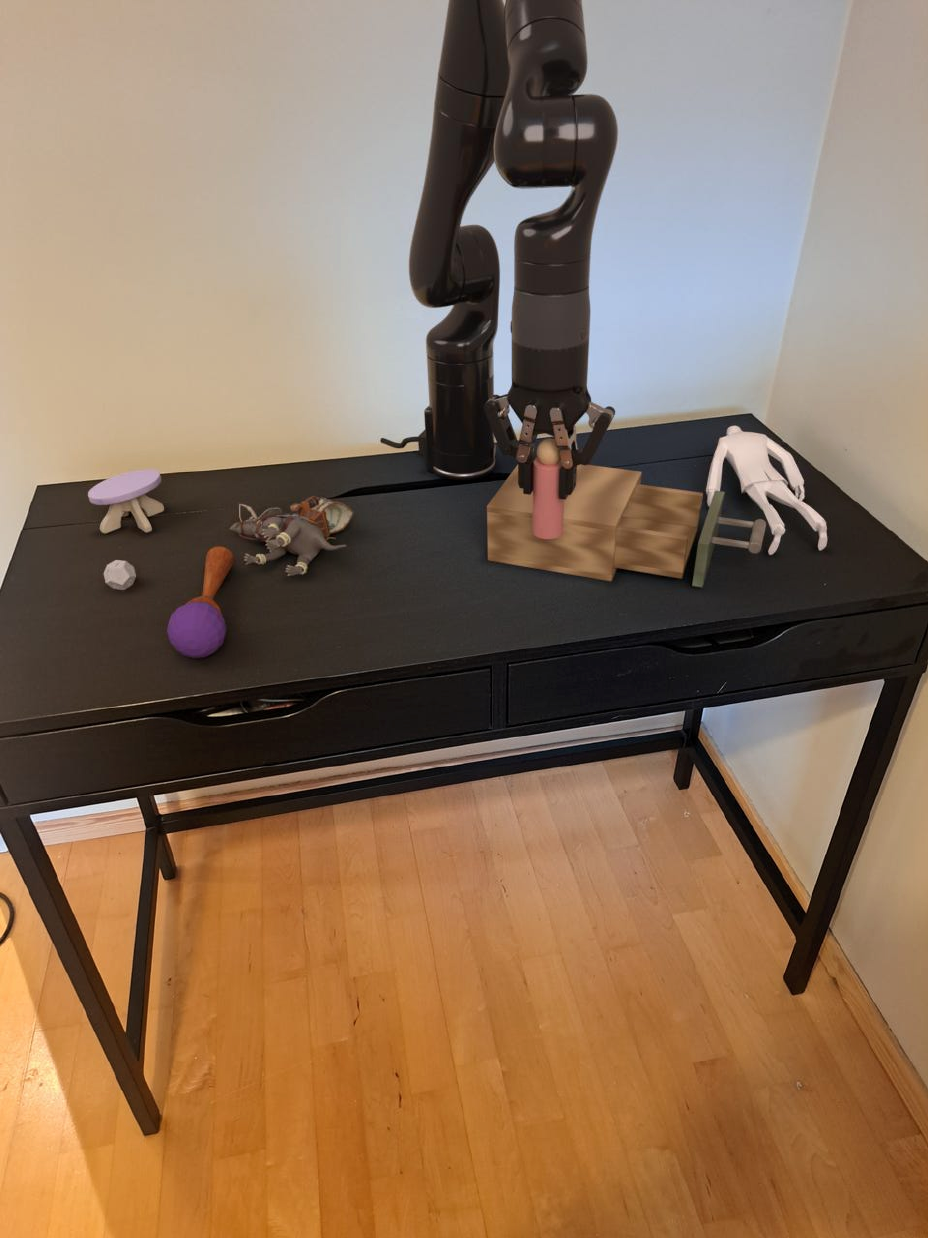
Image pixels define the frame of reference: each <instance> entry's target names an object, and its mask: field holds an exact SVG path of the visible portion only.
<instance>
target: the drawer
mask: <svg viewBox="0 0 928 1238" xmlns="http://www.w3.org/2000/svg"><path fill="white" fill-rule="evenodd" d="M725 494H726V492H725V491H722V490H720V491H715V492H714V495H713V498H712V501H711V504H710V507H709V506H708V507H709V508H708V511H707V514H706V516H705V520H704V523H703V526H702V529H701V533H700V535H699V539H698V542H697V549H696V555H695V562H694V569H693V578H692V585H691V586H692V587H697V588H703V587H704V584H705V581H706V577H707V574H708V571H709V567H710V563H711V560H712V558H713V557H712V556H713V552H714V549H715V547H716V546H715V545H722V546H727V547H733V548H734V547H735V548H741V549H748V552H750V553H751V554H758V553H760V552H761V550H762V546H763V541H764V537H765V532H766V528H767V527H766V526H767V522H766V521H765V520H764V519H763V518H759V519H756V520H754V521H749V520H743V519H736V518H730V517H729V518H728V517H722V512H723V505H724V501H725ZM703 496H704V493H703V492H700V491H692V490H691V491H690V490H685V489H684V490H683V489H676V488H669V487H662V486H655V485H649V484H648V485H647V484H638V485H637V487H636V489H635V491H634V493H633V495H632V498H631V500H630V502H629V504H628V506H627V508H626V510H625V512H624V514H623V517H622V519H621V521H620V523H619V525H618V527H617V533H616V545H615V558H614V567H615V568H617V569H621V570H627V571H634V572H640V573H645V574H651V575H657V576H662V577H663V576H664V577H669V578H675V579H681V580H682V579H683V577H684V573H685V571H686V567H687V565H688V561H689V558H690V556H691V552H692V549H693V546H694V544H695V540H696V537H697V534H698V531H699V525H700V518H701V510H702V503H703ZM720 525H727V526H735V527H742V528H749V529H751V534H750V538H749V541H743V540H737V539H731V538H725V537H718V535H719V531H720Z"/></svg>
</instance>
